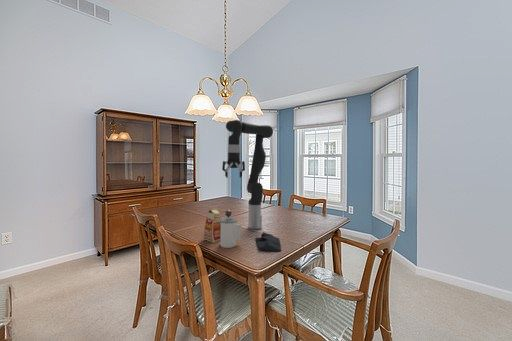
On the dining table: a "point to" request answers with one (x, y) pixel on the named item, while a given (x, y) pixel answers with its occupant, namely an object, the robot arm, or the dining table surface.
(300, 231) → the dining table surface
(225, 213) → the plunger
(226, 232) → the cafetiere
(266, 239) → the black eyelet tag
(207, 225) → the milk carton
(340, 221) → the dining table surface
